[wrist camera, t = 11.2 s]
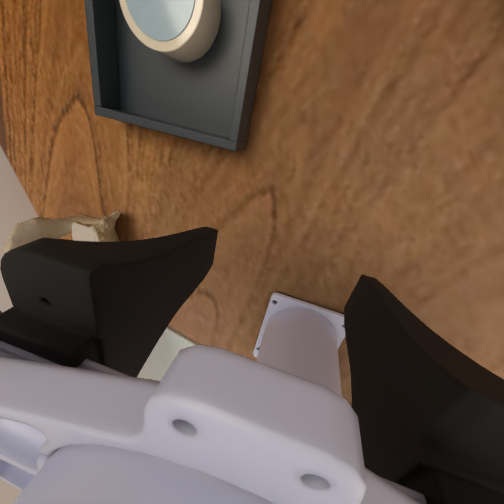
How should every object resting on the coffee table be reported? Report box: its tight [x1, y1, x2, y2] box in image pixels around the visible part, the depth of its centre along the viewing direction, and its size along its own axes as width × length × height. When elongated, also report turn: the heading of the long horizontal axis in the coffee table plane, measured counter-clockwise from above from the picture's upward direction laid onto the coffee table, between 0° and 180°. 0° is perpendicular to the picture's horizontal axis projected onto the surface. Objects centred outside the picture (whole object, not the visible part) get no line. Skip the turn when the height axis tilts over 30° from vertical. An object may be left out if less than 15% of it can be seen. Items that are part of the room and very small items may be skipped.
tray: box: [84, 0, 272, 151], centre depth 15 cm, size 14×11×2 cm
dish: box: [119, 0, 221, 62], centre depth 14 cm, size 5×5×3 cm
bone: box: [4, 210, 121, 254], centre depth 23 cm, size 9×6×10 cm
